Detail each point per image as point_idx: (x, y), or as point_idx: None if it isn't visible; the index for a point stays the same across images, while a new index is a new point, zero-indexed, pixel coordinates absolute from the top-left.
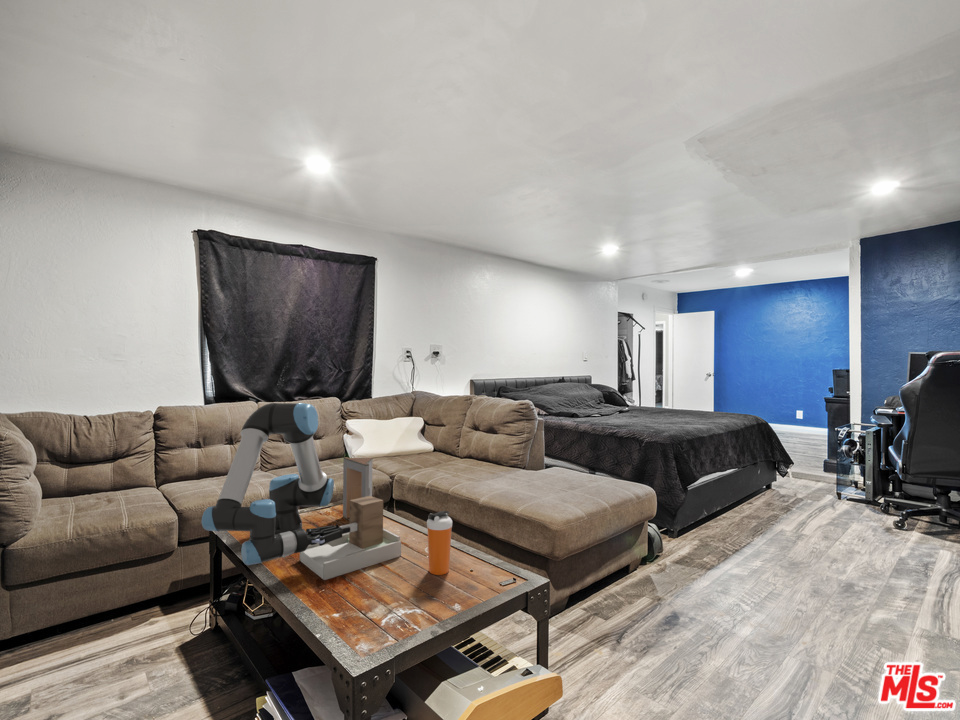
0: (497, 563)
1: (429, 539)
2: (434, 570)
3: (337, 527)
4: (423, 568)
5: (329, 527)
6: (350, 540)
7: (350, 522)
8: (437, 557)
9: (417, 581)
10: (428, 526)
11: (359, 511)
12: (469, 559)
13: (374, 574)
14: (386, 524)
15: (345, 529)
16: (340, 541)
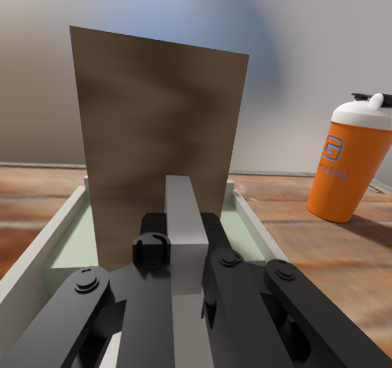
0: (305, 174)
1: (374, 157)
2: (352, 214)
3: (168, 264)
4: (312, 221)
5: (80, 340)
6: (111, 268)
7: (101, 188)
8: (366, 189)
9: (388, 251)
10: (390, 125)
11: (205, 103)
12: (285, 180)
13: (350, 315)
14: (36, 178)
15: (226, 238)
16: (23, 304)
